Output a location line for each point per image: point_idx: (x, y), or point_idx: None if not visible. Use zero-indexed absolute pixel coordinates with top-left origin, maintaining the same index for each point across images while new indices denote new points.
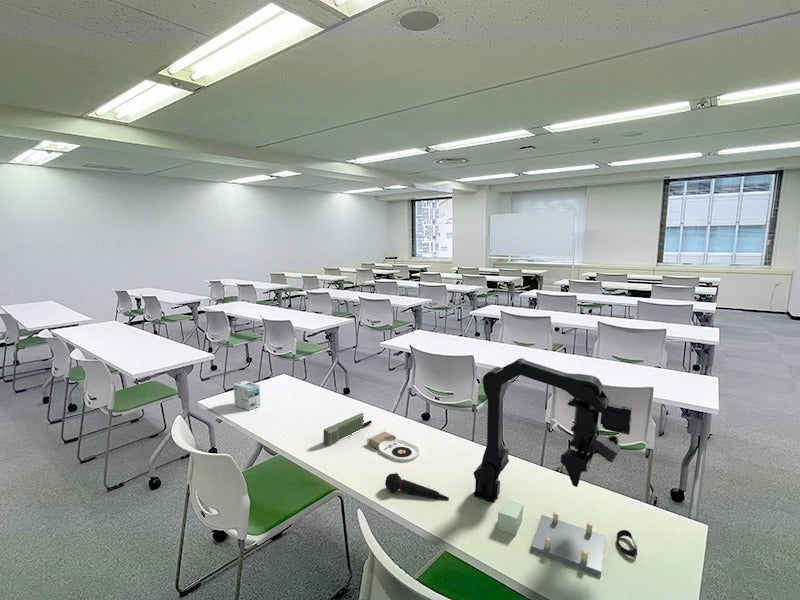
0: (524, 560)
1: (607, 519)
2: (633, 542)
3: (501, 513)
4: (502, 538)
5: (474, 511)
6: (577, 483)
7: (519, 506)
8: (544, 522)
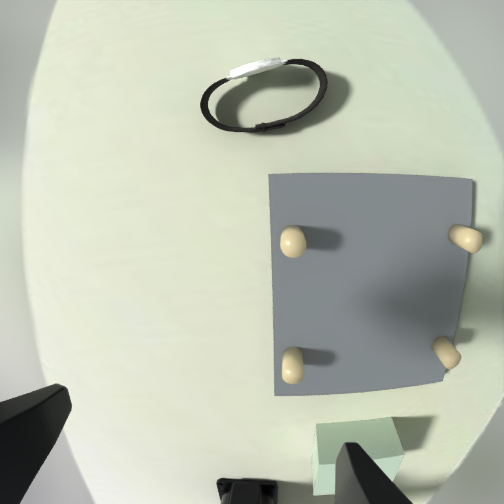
0: (473, 370)
1: (134, 182)
2: (260, 71)
3: (392, 481)
4: (413, 432)
5: None
6: (376, 468)
7: None
8: (315, 382)
